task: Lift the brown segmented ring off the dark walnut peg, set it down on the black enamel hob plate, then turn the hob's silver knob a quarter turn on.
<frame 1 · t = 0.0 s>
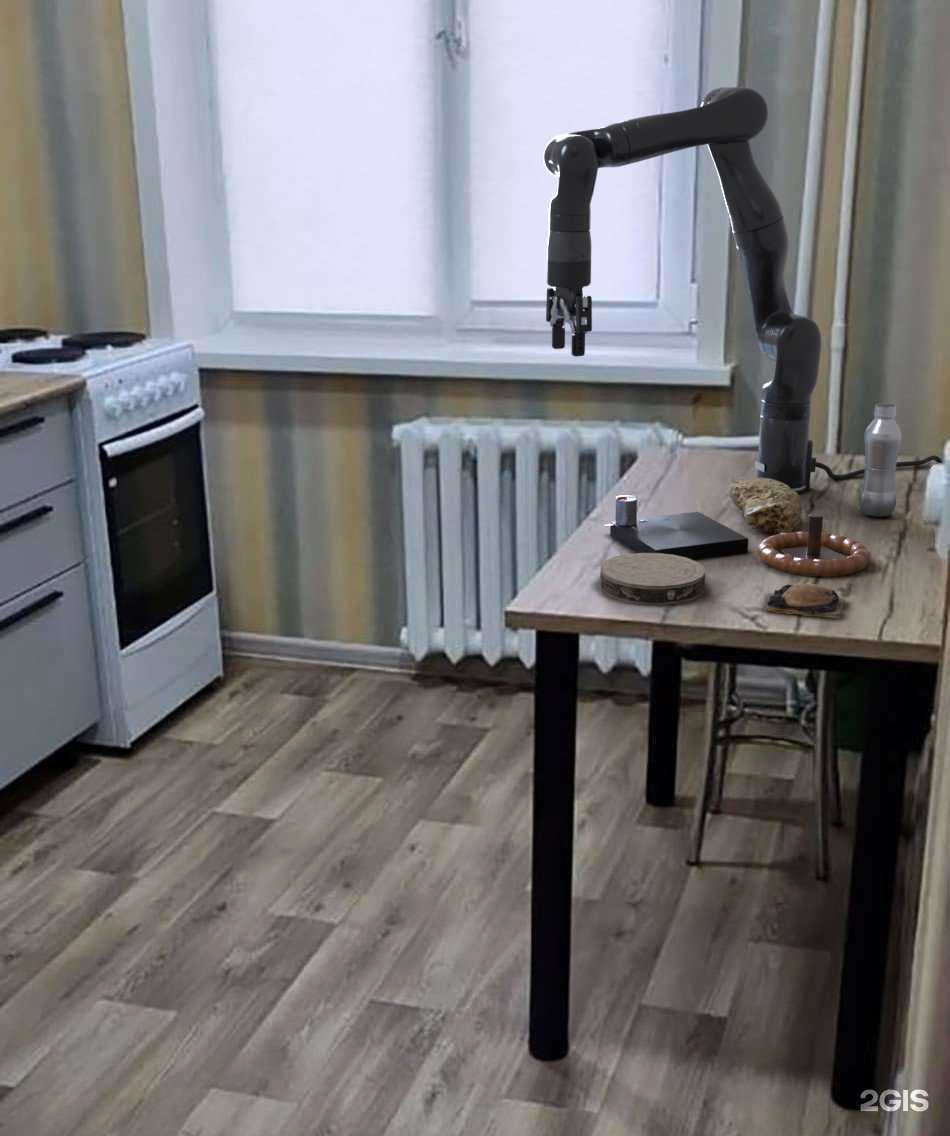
hand: (568, 352, 238), 29 cm above the table, tool pointing down, fingers open, 8 cm apart
sponge: (764, 520, 243), on the table
hob: (677, 544, 230), on the table
tan disc: (651, 588, 209), on the table
plastic bottle: (875, 516, 245), on the table
hob knob: (626, 509, 232), point 5 cm above the table, hinge at 0.0°
brown segmented ring: (813, 553, 220), point 1 cm above the table
peg: (812, 560, 221), on the table
bread roll: (805, 608, 200), on the table
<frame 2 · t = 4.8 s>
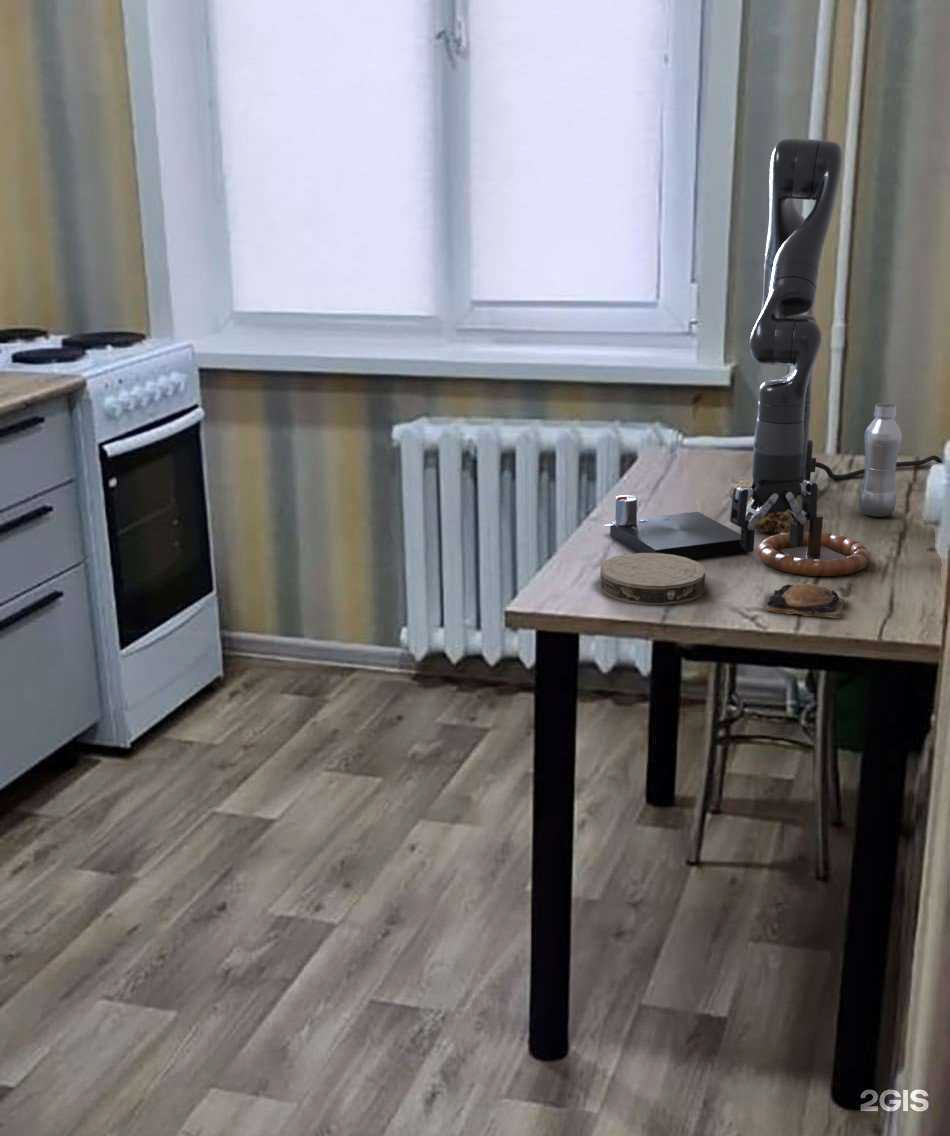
hand: (771, 548, 217), 3 cm above the table, tool pointing down, fingers open, 8 cm apart
nothing on the table moved.
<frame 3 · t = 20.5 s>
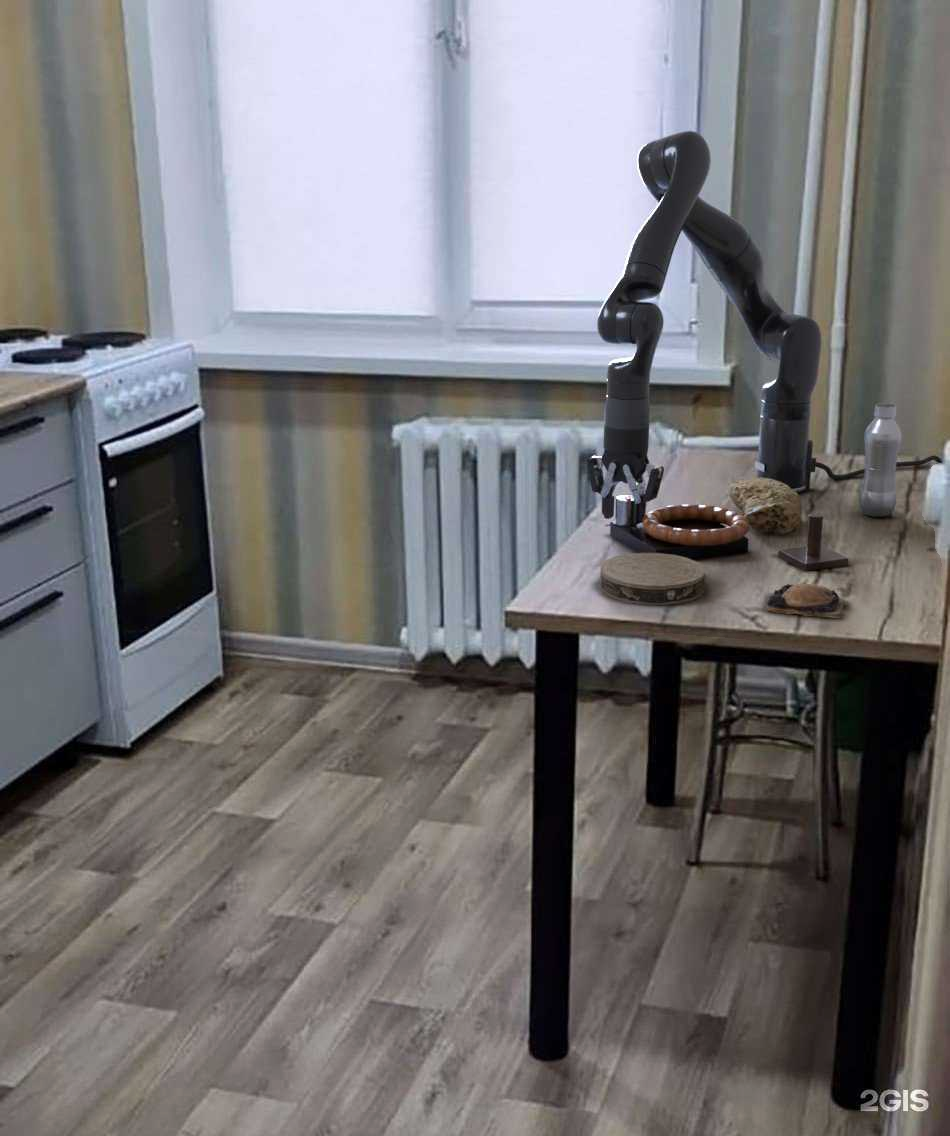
hand: (623, 520, 232), 3 cm above the table, tool pointing down, fingers open, 5 cm apart
hob knob: (626, 509, 232), point 5 cm above the table, hinge at 79.8°
brown segmented ring: (695, 524, 227), point 4 cm above the table, touching gripper, hob
everything else where it was.
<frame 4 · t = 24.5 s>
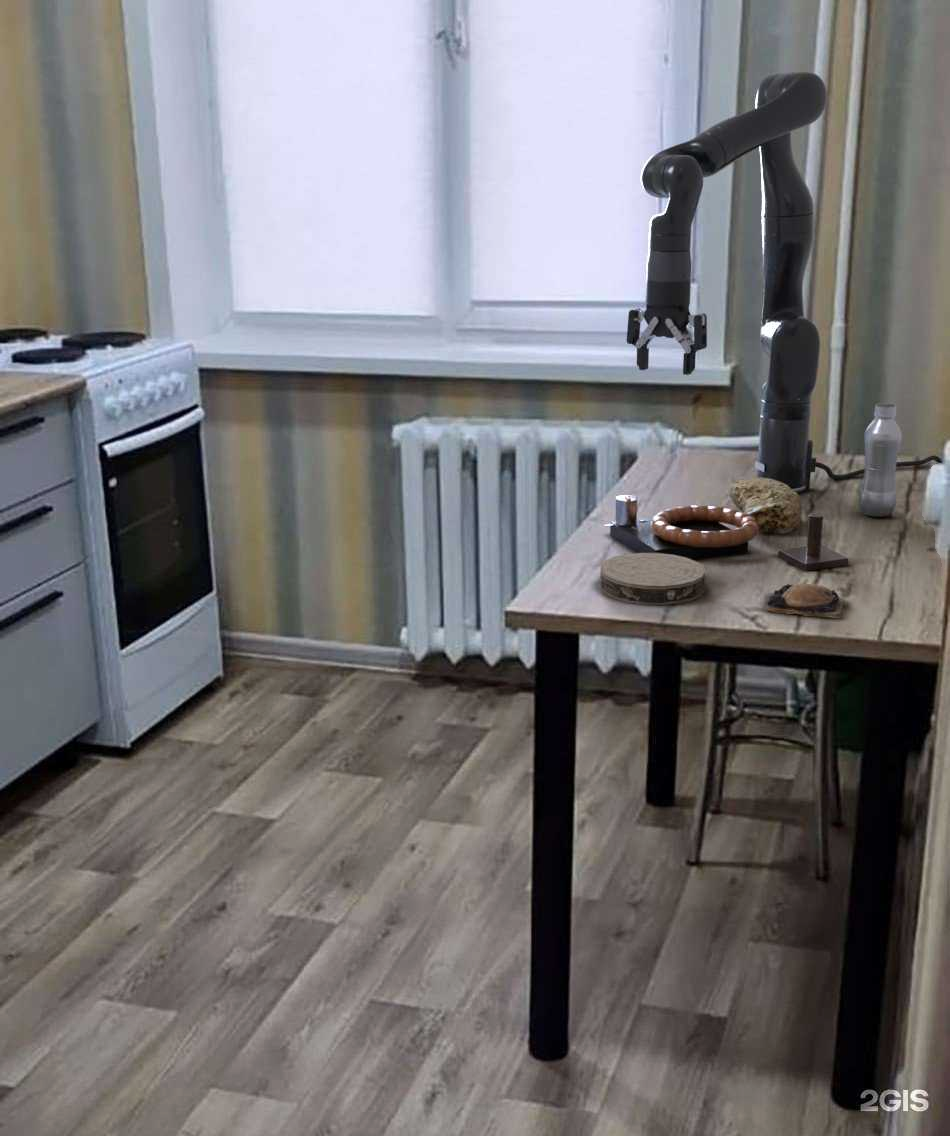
hand: (665, 371, 237), 26 cm above the table, tool pointing down, fingers open, 8 cm apart
brown segmented ring: (704, 526, 226), point 4 cm above the table, touching hob
everything else where it was.
at the end: brown segmented ring inside the target area on the hob (1.7 cm from its centre), point 3.8 cm above the hob's base; brown segmented ring tilted 0°; hob knob at +80° (first picture: +0°) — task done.
